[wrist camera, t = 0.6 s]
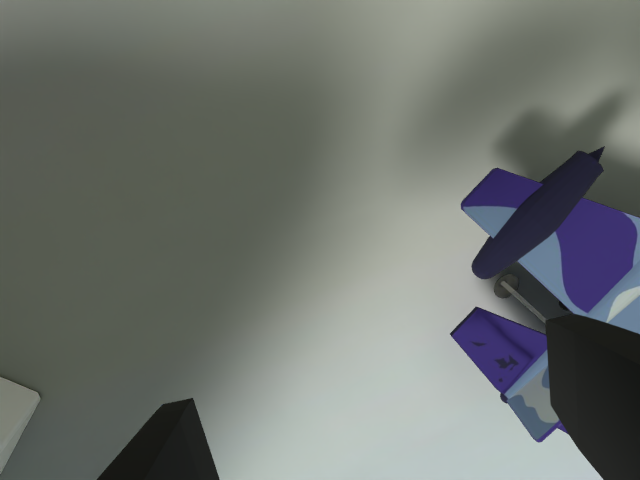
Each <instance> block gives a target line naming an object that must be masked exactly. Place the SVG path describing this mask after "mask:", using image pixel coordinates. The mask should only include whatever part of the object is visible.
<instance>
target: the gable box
mask: <svg viewBox="0 0 640 480" xmlns="http://www.w3.org/2000/svg"><path fill="white" fill-rule="evenodd" d="M39 401H40V397H39V395H38V393H37V392H35V391H33V390H31V389H28V388H26V387H23V386H21V385H19V384H16V383H14V382H12V381H9V380H7V379H4V378H2V377H0V474H1V472H2V470H3V469H4V467H5V465H6V463H7V461H8V459H9V457H10V455H11V454H12V452H13V450H14V448H15V446H16V444H17V442H18V440H19V439H20V437H21V435H22V433H23V431H24V429H25V427H26V425H27V424H28V422H29V420H30V418H31V416H32V414H33V412H34V411H35V409H36V407H37V405H38V403H39Z"/></svg>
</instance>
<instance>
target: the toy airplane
mask: <svg viewBox="0 0 640 480" xmlns="http://www.w3.org/2000/svg"><path fill="white" fill-rule="evenodd" d="M604 147H605V146H604ZM604 147H602V148H600V149H598V150H596V151H594V152H592V153H589V154H587V153H585V152H582V151H577V152H576V153H575V154H574V155H573V156H572V157H571V158H570V159H569V160H567V161H566V162H565V163H564V164H562V165H561V166H560V167H559V168H557V169H556V170H555V171H554V172H552V173H551V174H550V175H549V176H547V177H546V178H545V179H544V180H542V181H541V182H540V183H539V182H536V181H533V180H530V179H528V178H525V177H522V176H519V175H516V174H513V173H511V172H508V171H505V170H502V169H499V168H495V169H492V170H491V171H490V172H489V174H488V175H487V176H486V177H485V178H484V179H483V180H482V181H481V182H480V183H479V184H478V185H477V186H476V187H475V188H474V189H473V190H472V191H471V192H470V193H469V194H468V196H467V197H466V198H465V199H464V200H463V201H462V203H461V209H462V210H463V211H464V212H465V213H466V214H467V215H468V216H469V217H470V218H472V219H473V220H474V221H475V222H476V223H477V224H478V225H479V226H480V227H481V228H482V229H483V230H484V231H485V232H487V233H488V234H489V235H490V237H489V238H488V239H487V241H486V242H485V244H484V245H483V247H482V248H481V250H480V251H479V253H478V254H477V256H476V258H475V259H474V261H473V263H472V271H473V273H474V274H475V275H476V276H477V277H479V278H481V279H489V278H491V277H493V276H495V275H496V274H498V273H499V272H501V271H502V270H504V269H506V268H507V267H509V266H510V265H512V264H513V263H515V262H516V261H518V262H519V263H520V264H521V265H522V266H523V267H524V268H525V269H526V270H527V271H528V272H529V273H531V274H532V275H533V276H534V277H535V278H536V279H537V280H538V281H539V282H540V283H541V284H542V285H543V286H545V287H546V288H547V289H548V290H549V291H550V292H551V293H552V294H553V295H554V296H555V297H556V298H557V299H558V300H559V305H560V307H561V308H562V309H564V310H570V311H571V312H572V313H574V314H578V315H582V316H586V317H589V318H593V319H596V320H599V321H603V322H606V323H609V324H612V325H615V326H618V327H621V328H624V329H627V330H630V331H632V332H635V333H638V334H640V218H639V217H636V216H633V215H630V214H627V213H624V212H622V211H619V210H616V209H613V208H610V207H607V206H604V205H602V204H599V203H596V202H593V201H590V200H587V199H585V198H582V197H583V195H584V194H585V193H586V192H587V190H588V189H589V188H590V186H591V185H592V184H593V182H594V181H595V180H596V179H597V177H598V176H599V175H600V174H601V173H602V172H603V171H604V170H603V167H602V166H601V164H600V163H599V159H600V157H601V155H602V152H603V150H604ZM518 286H519V280H518V278H517V277H516V276H515V275H512V274H508V275H505V276H502V277H501V278H500V279H499V280H498V281H497V282H496V284H495V286H494V292H495V294H496V295H497V296H498V297H500V298H507V297H510V296H511V295H513V296H515V297H516V298H517V299H518V300H519V301H520V302H521V303H522V304H523V305H525V306H526V307H527V308H528V309H529V310H530V311H531V312H532V313H534V314H535V315H536V316H537V317H538V318H539V319H540V320H541V321H542V322H544V323H545V324H546V321H545V320H547V319H546V318H545V317H544V316H543V315H542V314H540V313H539V312H538V311H537V310H536V309H535V308H534V307H533V306H532V305H530V304H529V303H528V302H527V301H526V300H525V299H524V298H523V297H522V296H520V295H519V294H518V293H517V292H516V290H517V289H518ZM450 335H451V336H452V337H453V339H454V340H455V341H456V342H457V343H458V344H459V346H460V347H461V348H462V349H463V350H464V351H465V353H466V354H467V355H468V356H469V357H470V359H471V360H472V361H473V362H474V363H475V364H476V366H477V367H478V368H479V369H480V370H481V371H482V373H483V374H484V375H485V376H486V377H487V378H488V380H489V381H490V382H491V383H492V384H493V386H494V387H495V388H496V389H497V390H498V391H499V392H501V394H500V397H501V400H502V401H503V402H505V403H508V404H509V406H510V407H511V408H512V410H513V411H514V413H515V414H516V415H517V417H518V418H519V419H520V421H521V422H522V424H523V425H524V426H525V428H526V429H527V431H528V432H529V433H530V435H531V436H532V437H533V439H534V440H536V441H537V442H542V441H543V440H544V439H545V438H546V437H548V436H549V435H550V434H551V433H552V432H553V431H554V430H555V429H556V428H558V429H560V430H562V431H564V432H566V433H567V434H568V432H567V431H566V429H565V428H564V426H563V424H562V423H561V421H560V420H559V418H558V416H557V415H556V413H555V412H554V410H553V408H552V407H551V404H550V387H549V371H548V354H547V338H546V334H544V333H541V332H539V331H536V330H534V329H531V328H529V327H526V326H524V325H521V324H519V323H516V322H514V321H511V320H509V319H506V318H504V317H501V316H499V315H496V314H494V313H491V312H489V311H486V310H484V309H481V308H479V307H475V308H474V309H473V310H472V311H471V312H470V313H469V315H468V316H467V317H466V318H465V319H464V320H463V321H462V322H461V323H460V324H459V325H458V326H457V327H456V328H455V329H454V330H453V331H452V332H451V333H450Z"/></svg>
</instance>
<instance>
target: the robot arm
mask: <svg viewBox="0 0 640 480" xmlns="http://www.w3.org/2000/svg"><path fill="white" fill-rule="evenodd" d="M545 321H546V338H547V354H548V371H549V387H550V404H551V407H552V408H553V410H554V412H555V413H556V415H557V416H558V418H559V420H560V421H561V423H562V424H563V426H564V428H565V429H566V431H567V432H568V434H569V435H570V437H571V438H572V440H573V441H574V443H575V444H576V446H577V447H578V449H579V450H580V451H581V453H582V454H583V455H584V456H585V458H586V459H587V460H588V461H589V462H590V464H591V465H592V466H593V467H594V468H595V470H596V471H597V472H598V473H599V475H600V476H601V477H602V478H603V479H604V480H640V334H638V333H635V332H632V331H630V330H627V329H624V328H621V327H618V326H615V325H612V324H609V323H606V322H603V321H599V320H596V319H593V318H589V317H586V316H582V315H578V314H572V315H567V316H563V317H558V318H554V319H549V320H545ZM97 480H219V476H218V473H217V470H216V467H215V464H214V461H213V458H212V455H211V452H210V449H209V446H208V443H207V440H206V436H205V433H204V430H203V427H202V424H201V421H200V418H199V415H198V412H197V409H196V406H195V403H194V400H193V398H190V399H186V400H181V401H177V402H172V403H168V404H163V405H162V406H161V407H160V408H159V409H158V410H157V411H156V412H155V413H154V414H153V415H152V417H151V418H150V419H149V420H148V421H147V422H146V423H145V425H144V426H143V427H142V428H141V429H140V430H139V432H138V433H137V434H136V435H135V436H134V437H133V439H132V440H131V441H130V442H129V443H128V444H127V446H126V447H125V448H124V449H123V450H122V451H121V452H120V454H119V455H118V456H117V457H116V458H115V459H114V460H113V462H112V463H111V464H110V465H109V466H108V467H107V468H106V470H105V471H104V472H103V473H102V474H101V475H100V476H99V478H98V479H97Z"/></svg>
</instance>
